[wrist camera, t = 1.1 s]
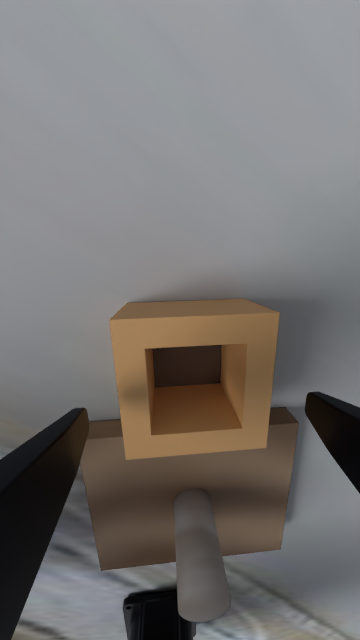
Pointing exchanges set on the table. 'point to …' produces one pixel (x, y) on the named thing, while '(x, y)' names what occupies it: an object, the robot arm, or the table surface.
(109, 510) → the keeper plate
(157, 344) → the tan square ring
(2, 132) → the table surface
